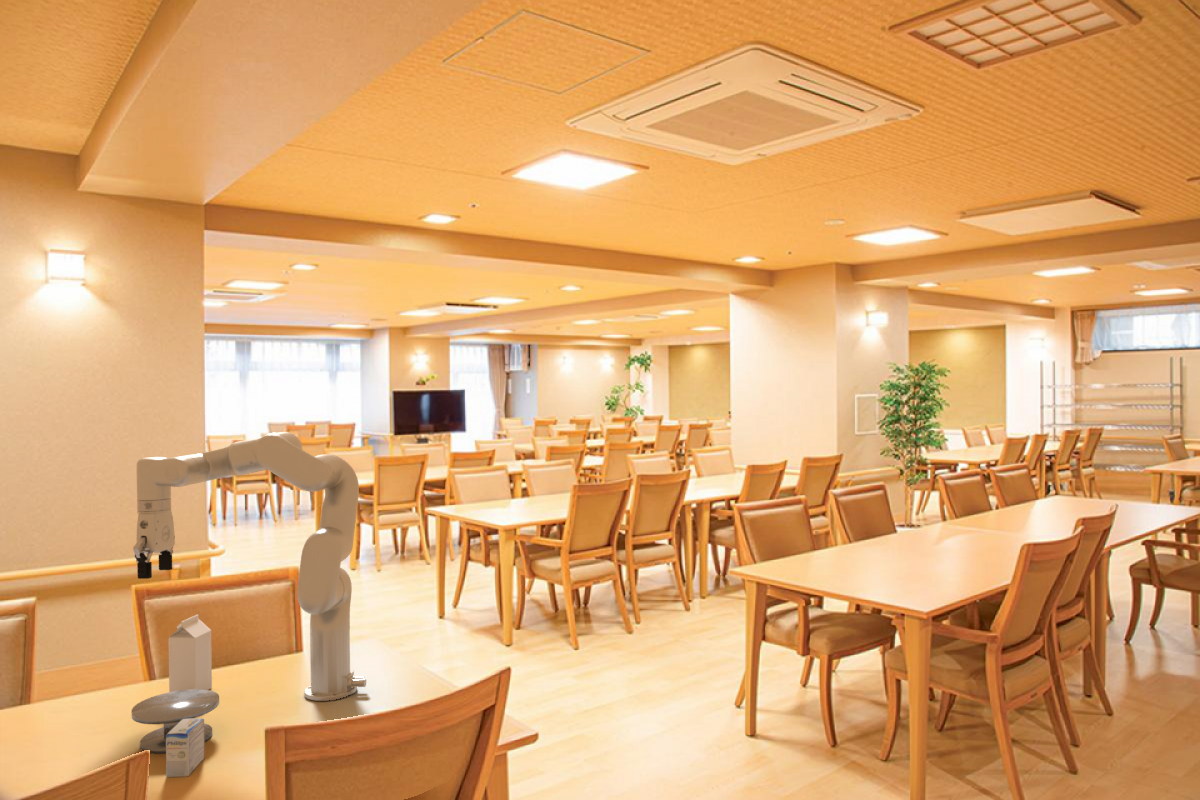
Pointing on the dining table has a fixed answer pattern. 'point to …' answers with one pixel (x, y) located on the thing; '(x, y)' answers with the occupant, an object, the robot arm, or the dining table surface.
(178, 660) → the milk carton
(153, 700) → the cake stand
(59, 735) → the dining table surface
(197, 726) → the medicine box
